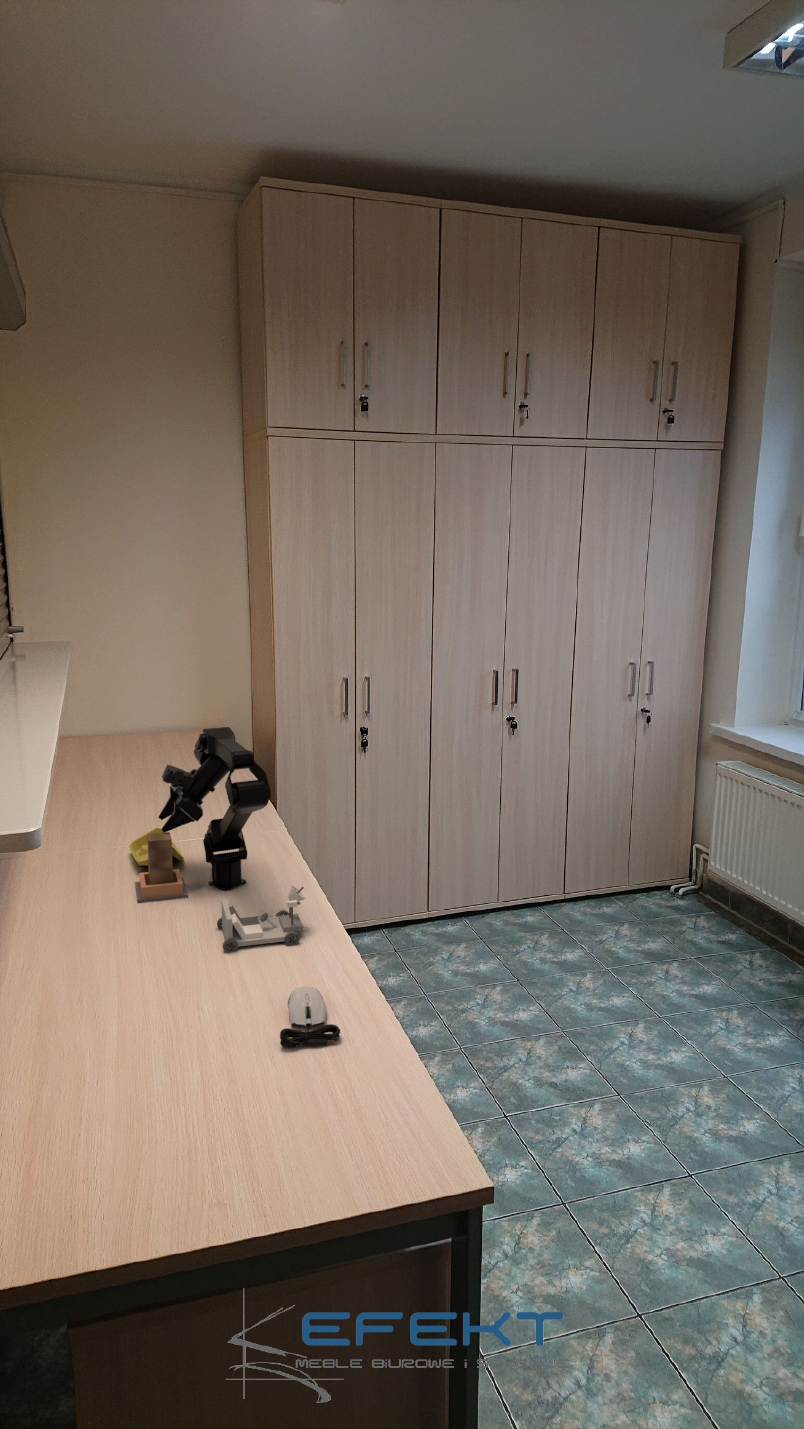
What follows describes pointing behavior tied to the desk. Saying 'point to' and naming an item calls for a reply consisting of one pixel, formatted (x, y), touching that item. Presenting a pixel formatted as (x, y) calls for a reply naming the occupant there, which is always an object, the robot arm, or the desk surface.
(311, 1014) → the computer mouse
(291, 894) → the toy car
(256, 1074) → the desk surface
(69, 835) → the desk surface
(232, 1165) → the desk surface
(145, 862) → the plastic component
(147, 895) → the socket board
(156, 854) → the walnut post
